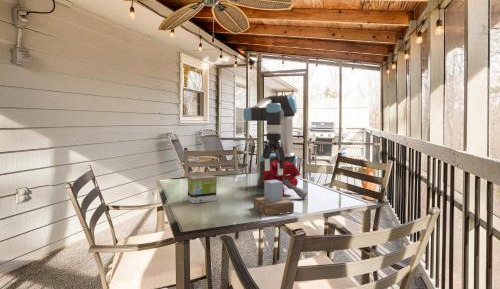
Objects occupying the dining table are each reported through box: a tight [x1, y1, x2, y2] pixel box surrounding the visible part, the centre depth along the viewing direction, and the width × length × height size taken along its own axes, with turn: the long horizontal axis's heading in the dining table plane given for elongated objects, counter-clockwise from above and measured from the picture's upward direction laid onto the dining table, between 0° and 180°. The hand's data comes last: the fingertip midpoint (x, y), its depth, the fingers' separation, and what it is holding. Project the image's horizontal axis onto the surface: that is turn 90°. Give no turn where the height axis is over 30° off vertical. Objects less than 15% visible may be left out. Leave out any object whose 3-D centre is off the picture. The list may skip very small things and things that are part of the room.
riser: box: [253, 196, 295, 217], centre depth 168 cm, size 16×16×6 cm
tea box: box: [187, 174, 217, 204], centre depth 187 cm, size 15×10×15 cm, turn 117°
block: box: [263, 180, 284, 202], centre depth 168 cm, size 7×7×10 cm
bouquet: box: [262, 160, 308, 200], centre depth 196 cm, size 22×24×30 cm
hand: (273, 172), depth 167 cm, fingers open, 13 cm apart
